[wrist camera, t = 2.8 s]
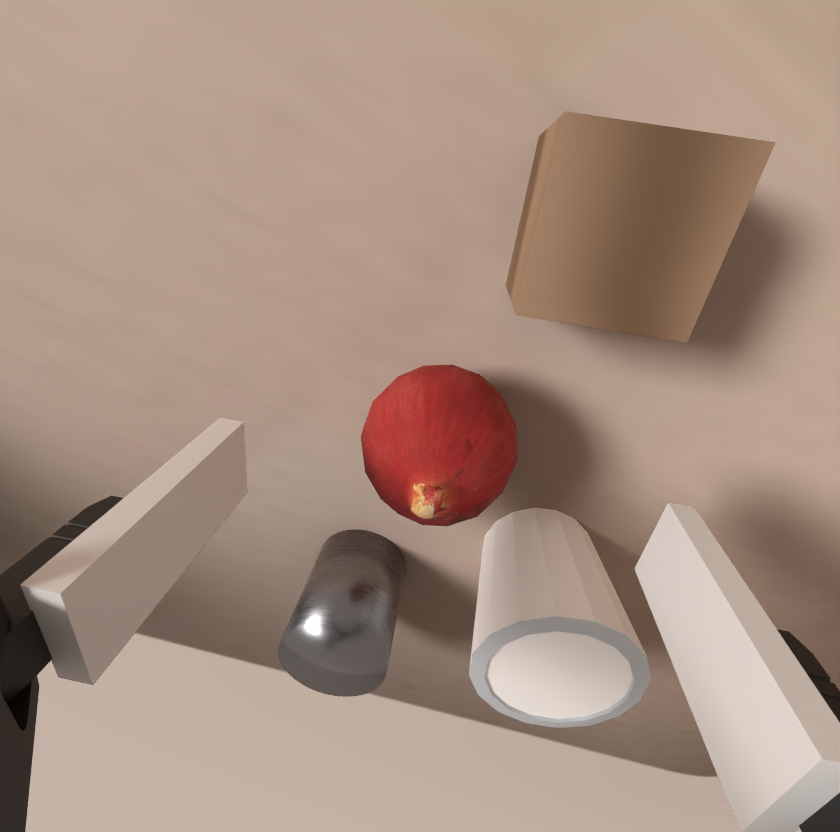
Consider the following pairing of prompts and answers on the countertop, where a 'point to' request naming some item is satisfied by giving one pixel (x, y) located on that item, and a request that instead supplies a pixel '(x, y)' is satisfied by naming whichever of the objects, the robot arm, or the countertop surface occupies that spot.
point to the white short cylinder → (552, 626)
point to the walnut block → (629, 223)
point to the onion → (439, 445)
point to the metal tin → (346, 616)
